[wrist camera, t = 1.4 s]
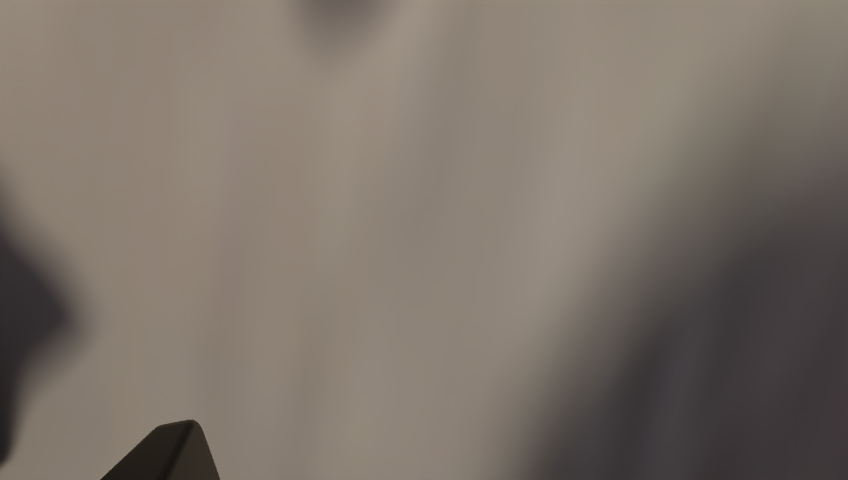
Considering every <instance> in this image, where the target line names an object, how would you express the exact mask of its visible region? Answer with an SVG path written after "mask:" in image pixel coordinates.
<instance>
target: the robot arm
mask: <svg viewBox="0 0 848 480" xmlns="http://www.w3.org/2000/svg"><path fill="white" fill-rule="evenodd" d="M100 480H220V478H219V474H218V472H217V469H216V466H215V463H214V460H213V458H212V455H211V452H210V449H209V446H208V444H207V441H206V438H205V435H204V432H203V430H202V428H201V426H200V425H199V423H198V422H196V421H195V420H185V421H179V422H174V423H169V424H164V425H160V426H158V427H156V428H155V429H154V430H153V431H152V432H151V433H149V434H148V435H147V436H146V437H145V438H144V439H143V440H142V441H141V442H140V443H139V444H138V445H137V446H136V447H135V448H134V449H132V450H131V451H130V452H129V453H128V454H127V455H126V456H125V457H124V458H123V459H122V460H121V461H120V462H119V463H118V464H116V465H115V466H114V467H113V468H112V469H111V470H110V471H109V472H108V473H107V474H106V475H105V476H104V477H103V478H102V479H100Z"/></svg>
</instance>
